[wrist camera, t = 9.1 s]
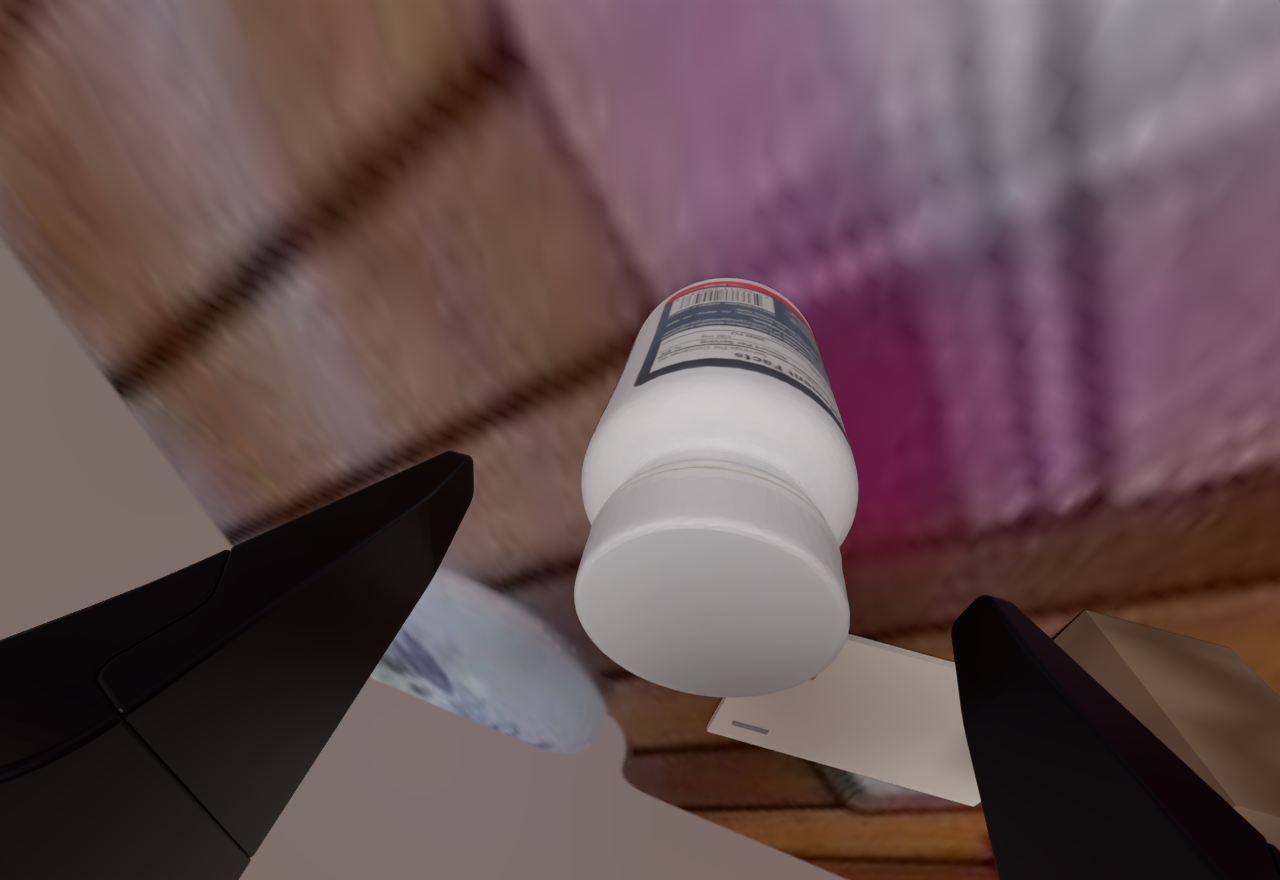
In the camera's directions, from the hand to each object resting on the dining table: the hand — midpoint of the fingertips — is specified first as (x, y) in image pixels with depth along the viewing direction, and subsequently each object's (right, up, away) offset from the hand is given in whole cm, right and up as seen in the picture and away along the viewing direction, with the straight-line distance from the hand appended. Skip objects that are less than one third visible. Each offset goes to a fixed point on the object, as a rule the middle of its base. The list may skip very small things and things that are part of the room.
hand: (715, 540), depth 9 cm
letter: (+10, -11, +14) cm, 20 cm away
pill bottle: (+1, +4, +6) cm, 7 cm away
